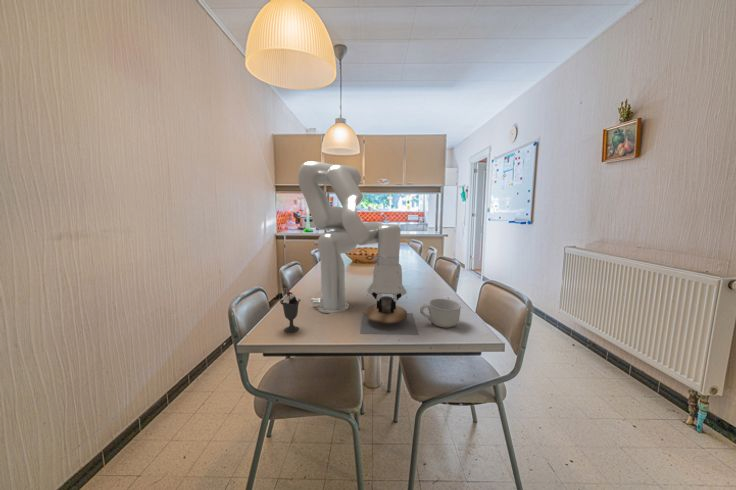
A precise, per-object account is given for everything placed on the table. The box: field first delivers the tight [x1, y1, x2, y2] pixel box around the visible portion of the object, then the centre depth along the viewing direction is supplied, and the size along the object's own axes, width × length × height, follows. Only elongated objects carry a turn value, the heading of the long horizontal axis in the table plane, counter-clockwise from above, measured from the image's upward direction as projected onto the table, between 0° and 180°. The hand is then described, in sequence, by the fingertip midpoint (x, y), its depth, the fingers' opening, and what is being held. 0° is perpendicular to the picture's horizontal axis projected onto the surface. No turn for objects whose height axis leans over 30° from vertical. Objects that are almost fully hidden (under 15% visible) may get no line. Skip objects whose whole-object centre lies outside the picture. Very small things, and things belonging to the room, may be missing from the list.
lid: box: [364, 295, 408, 323], centre depth 102 cm, size 15×15×6 cm
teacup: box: [419, 297, 462, 329], centre depth 101 cm, size 14×11×8 cm
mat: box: [359, 311, 420, 336], centre depth 102 cm, size 19×19×1 cm
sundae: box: [279, 285, 302, 334], centre depth 96 cm, size 7×7×15 cm
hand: (385, 310), depth 102 cm, fingers closed on lid, 4 cm apart
